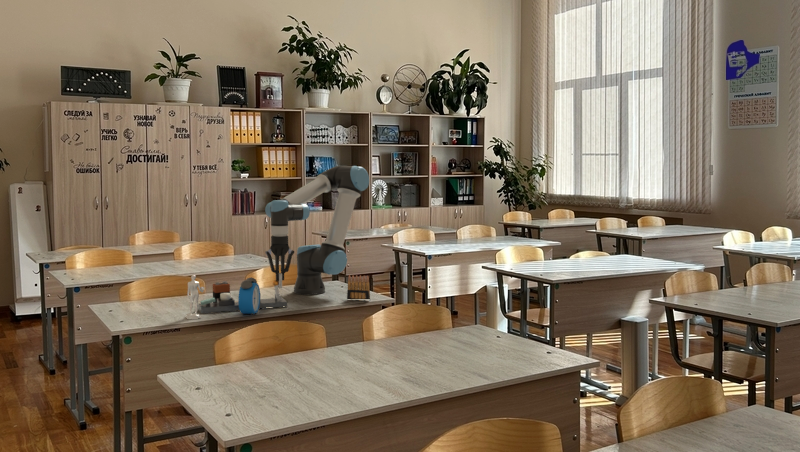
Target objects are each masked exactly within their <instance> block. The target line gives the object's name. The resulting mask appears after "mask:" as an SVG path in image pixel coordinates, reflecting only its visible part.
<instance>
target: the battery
mask: <svg viewBox="0 0 800 452" xmlns="http://www.w3.org/2000/svg"><path fill="white" fill-rule="evenodd" d="M221 293H231V284H230V283H228V281H227V280H226V281H225V280H223V281H221V282H219V281H216V282H215V283H213V284H212V298H215V301H216V302H217V298H220V294H221ZM216 302H212V303H216Z"/></svg>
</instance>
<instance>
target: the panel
mask: <svg viewBox="0 0 800 452" xmlns="http://www.w3.org/2000/svg"><path fill="white" fill-rule="evenodd" d="M283 306H287V307H288V301H287V299H284V298H283V297H282V295H280V293H279V296H277V298H276V294H274V298H263V299H262V298H261V300H260V305H259V308H266V307H283ZM283 308H284V307H283ZM235 310H240V309H239V303H238V300H235V299H234V298H233V296H232V297H231V300H228V301H220V298H217V302H216V303H213V302H212V303H208V304H205V305H201V303H198V311H199V314H201V313H204V314H212V313H211V312H217V313H222V312H221V311H230V312H236V311H235Z"/></svg>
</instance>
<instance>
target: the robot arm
mask: <svg viewBox="0 0 800 452" xmlns="http://www.w3.org/2000/svg"><path fill="white" fill-rule="evenodd" d="M369 184H370V176H369V173H368V171H367V169H365V168H364V167H363V166H359V165H358V166H357V165H336V166H334V167H330V168H329V169H327V170H325V171H322V172H321V173H320V174H318V175H317V176H316V177H315V179H313V180H312V181H310V182H309V183H307V184H305V185H303V186H301V187H299V188H298V189H296V190H295V191H294V192H291V193H289V194H287V195H286V196H285V197H283V198H281V199H277V200H276V199H274V200H272V201H271V202H268V203H266V206H265V209H264V210H265V211H264V212H265V214H266V216H267V217H268V218H270V234H271V236H270V247H269V249H268V250H266V251H265V255H266V256H267V260H268V263H269V266H270V270H271V272H272V273H273V274H275V280H276V281H278V282H279V284H278V289H283V281H285V273H288V272H289V271H290V267H291V262H292V257H293V255H294V254H295V251H294V250H293V249H292V248H290V246H289V236H288V234H289V222H293V221H305V220H308V219H309V217H310V214H311V213H310V210H311V209H310V207H309V205H307V203H309V202H310V201H312V200H314V199H315V198H317V197H318V196H320V195H321V194H323V193H329V192H331V191H333V190H337V192H338V197H337V200H336V204H335V207H334V210H333V214H332V218H331V221H330V225H329V228H328V231H327V235H326V239H325V240H324V241H321V244H309V245H301V246H298V247H297V249H296V268H297V269H296V273H297V276H296V280H295V283H294V287H293V293H294V294H297V295H304V294H312V295H320V294H324V293H325V292H326V285H325V283H324V281H323V277H322V274H326V275H339V274H341V273H342V272H343V271H344V270H345V268H346V266H347V263H348V258H347V257H348V256H347V254H346V248H345V247H344V243H345V241H346V237H347V233H348V228H349V226H350V224H351V223H350V221H351V218H352V214H353V212H354V209H355V205H356V201H357V199H358V198H360V197H361V195H362V192H364V191H365V190H367V189H368V187H369ZM287 253H288V254H287ZM272 254H273V255H274V259H275V260H274V261H275V262H274V261H273V258H272ZM286 255H287V258H286ZM285 258H286V263H285Z"/></svg>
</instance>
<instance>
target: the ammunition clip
mask: <svg viewBox="0 0 800 452" xmlns="http://www.w3.org/2000/svg"><path fill="white" fill-rule="evenodd" d="M346 294H347V295H346V300H347V299H370V300H371V291H370V279H369V275H367V276H366V275H363V276H362V275H361V274H360V275H359V277H358V275H357V274H356V275H354V274H352V276H351V275H350V274H348V278H347V291H346Z"/></svg>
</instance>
